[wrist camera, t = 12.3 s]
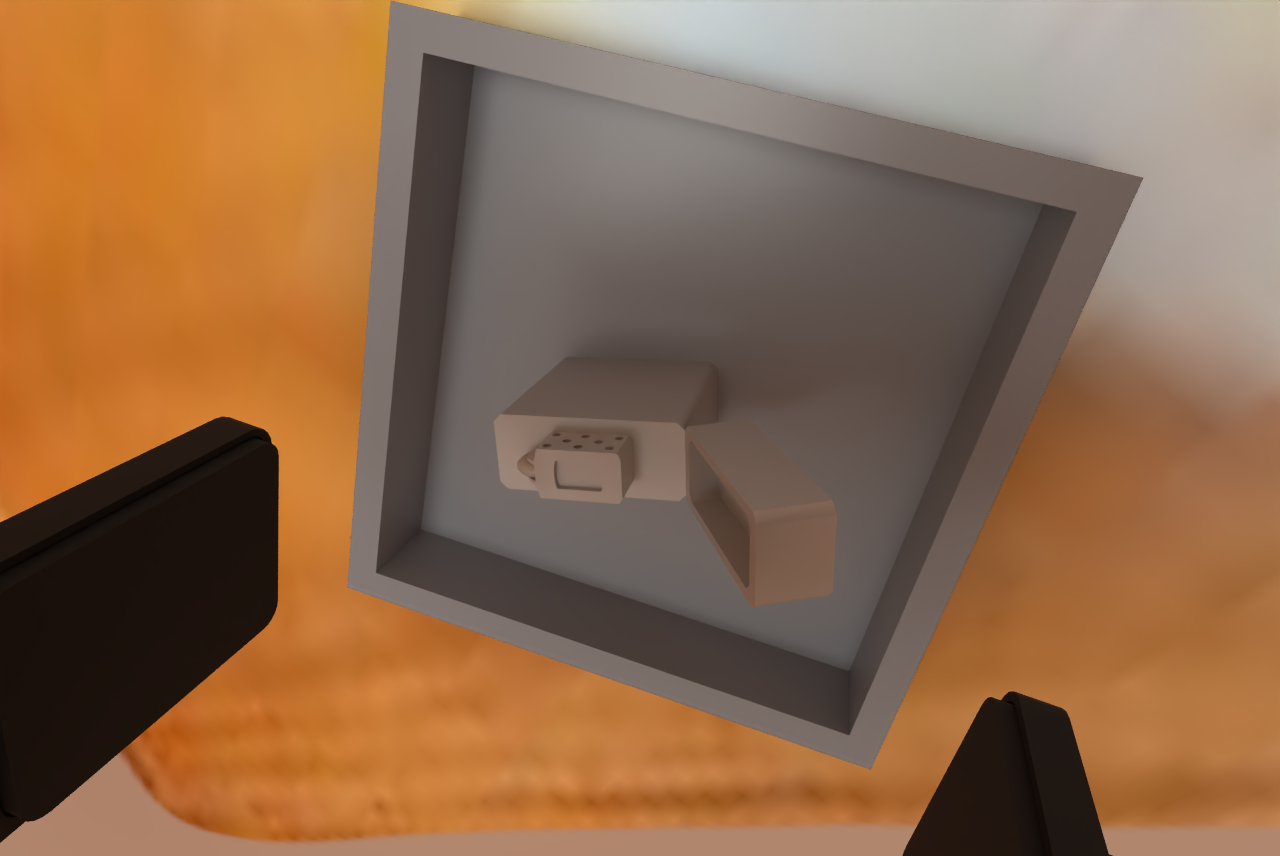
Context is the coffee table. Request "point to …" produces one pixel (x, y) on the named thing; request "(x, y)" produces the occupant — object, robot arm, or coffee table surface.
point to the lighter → (673, 466)
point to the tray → (701, 356)
